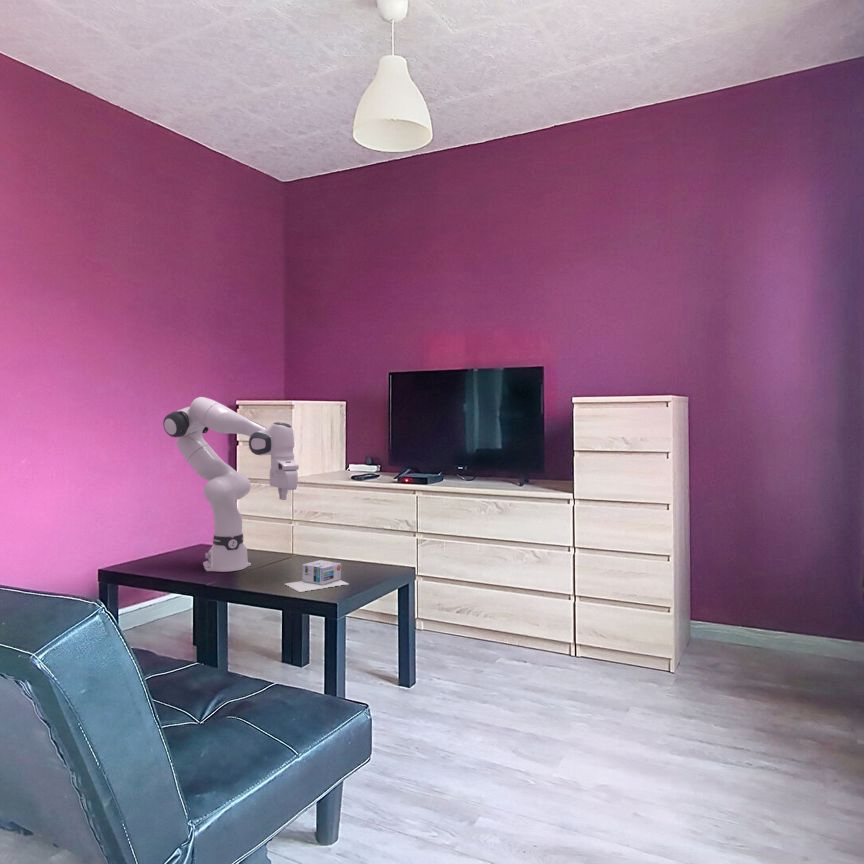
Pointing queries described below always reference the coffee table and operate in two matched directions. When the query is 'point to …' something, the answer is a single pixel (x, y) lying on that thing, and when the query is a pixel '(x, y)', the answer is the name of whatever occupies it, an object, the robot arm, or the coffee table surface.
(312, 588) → the mat
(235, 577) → the coffee table surface
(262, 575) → the coffee table surface
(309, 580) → the light bulb box
